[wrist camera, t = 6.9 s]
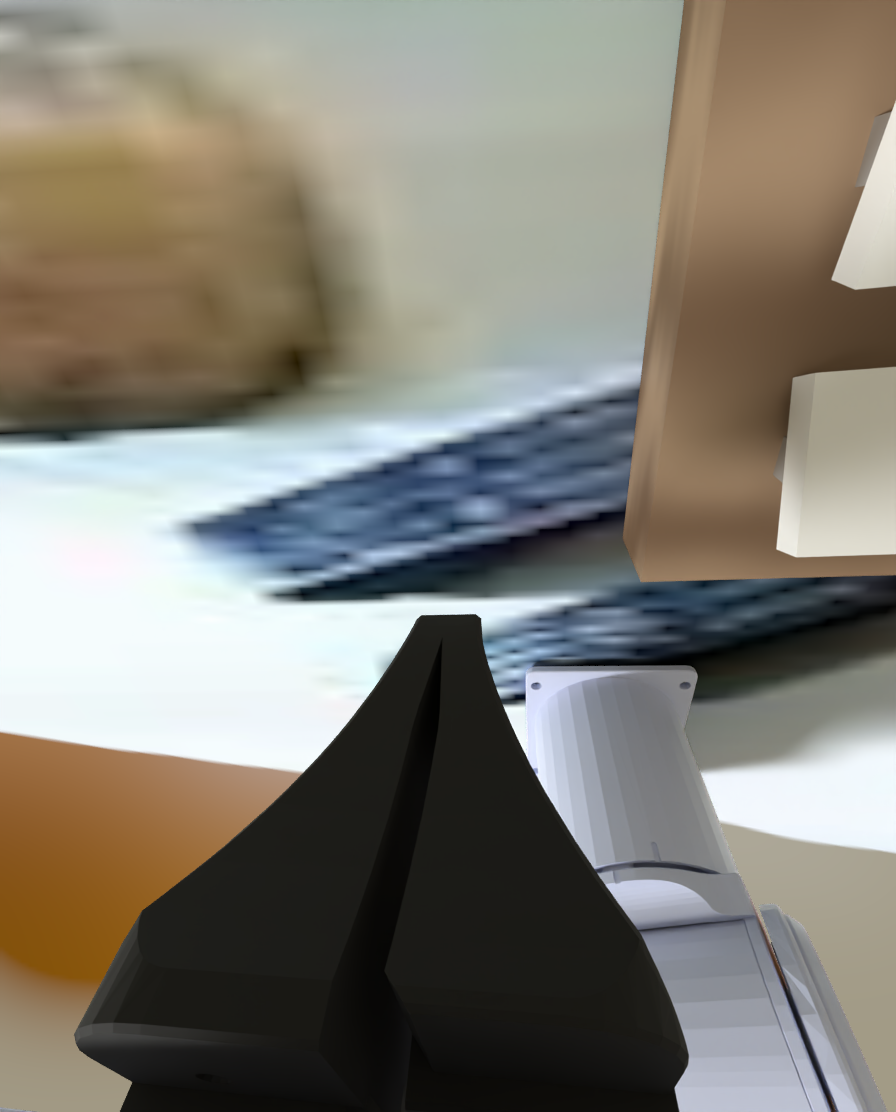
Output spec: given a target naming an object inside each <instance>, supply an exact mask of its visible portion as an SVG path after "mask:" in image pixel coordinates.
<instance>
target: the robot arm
mask: <svg viewBox="0 0 896 1112" xmlns="http://www.w3.org/2000/svg"><path fill="white" fill-rule="evenodd" d="M697 678H698V675H697V673H696V670H695V669H694V668H693V667H691V666H687V665H676V666H536V667H531V668H529V669H528V670H527V671H526V737H527V757H526V755H525V753H524V751H523V749H522V747H521V745H520V743H519V741H518V739H517V737H516V734H515V732H514V730H513V728H512V726H511V723H510V721H509V719H508V716H507V714H506V712H505V709H504V707H503V705H502V702H501V699H500V697H499V694H498V692H497V689H496V686H495V683H494V680H493V677H492V674H491V671H490V668H489V665H488V662H487V658H486V654H485V650H484V646H483V639H482V626H481V618H480V617H478V616H477V615H476V614H465V615H421V616H420V617H419V618H418V619H417V620H416V622H415V624H414V626H413V628H412V629H411V631H410V633H409V635H408V637H407V638H406V640H405V642H404V643H403V645H402V647H401V648H400V650H399V651H398V653H397V655H396V656H395V658H394V660H393V661H392V663H391V664H390V666H389V667H388V668H387V670H386V671H385V673H384V674H383V676H382V677H381V679H380V680H379V682H378V683H377V685H376V686H375V688H374V689H373V690H372V692H371V693H370V694H369V696H368V697H367V698H366V700H365V701H364V702H363V704H362V705H361V706H360V708H359V709H358V710H357V712H356V713H355V714H354V716H353V717H352V718H351V719H350V721H349V722H348V723H347V724H346V726H345V727H344V728H343V729H342V730H341V732H340V733H339V734H338V735H337V736H336V738H335V739H334V740H333V741H332V742H331V743H330V745H329V746H328V747H327V748H326V749H325V750H324V751H323V752H322V753H321V755H320V756H319V757H318V758H317V759H316V760H315V761H314V762H313V763H312V764H311V765H310V766H309V767H308V768H307V769H306V770H305V771H304V773H303V774H302V775H301V776H300V777H299V778H298V779H297V780H296V781H295V782H294V783H293V784H292V785H291V786H290V787H289V788H288V789H287V790H286V791H285V792H284V793H283V794H282V795H281V796H280V797H279V798H278V799H277V800H275V801H274V803H272V804H271V805H270V806H269V807H268V808H267V809H266V810H265V811H264V812H262V813H261V814H260V815H259V816H258V817H257V818H256V819H254V820H253V821H252V822H251V823H250V824H249V825H248V826H247V827H245V828H244V829H243V830H242V831H241V832H240V833H239V834H238V835H236V836H235V837H234V838H233V839H232V840H231V841H230V842H229V843H227V844H226V845H225V846H224V847H223V848H222V849H220V850H219V851H218V852H217V853H216V854H214V855H213V856H212V857H211V858H209V859H208V860H207V861H206V862H204V863H203V864H202V865H201V866H199V867H198V868H197V869H196V870H195V871H193V872H192V873H190V874H189V875H188V876H187V877H185V878H184V879H183V880H181V881H180V882H179V883H178V884H176V885H175V886H174V887H173V888H171V889H170V890H169V891H168V892H166V893H165V894H164V895H162V896H161V897H160V898H159V899H157V900H156V901H154V902H153V903H152V904H151V905H149V906H148V907H146V908H145V909H144V910H142V912H141V914H140V915H139V917H138V919H137V920H136V922H135V924H134V925H133V927H132V928H131V930H130V932H129V933H128V935H127V936H126V938H125V939H124V941H123V943H122V945H121V947H120V948H119V951H118V952H117V954H116V956H115V958H114V960H113V962H112V964H111V966H110V967H109V969H108V971H107V973H106V975H105V977H104V979H103V981H102V982H101V984H100V987H99V988H98V990H97V992H96V994H95V996H94V998H93V1000H92V1001H91V1004H90V1005H89V1007H88V1009H87V1011H86V1013H85V1015H84V1017H83V1018H82V1020H81V1022H80V1024H79V1026H78V1028H77V1030H76V1032H75V1034H74V1036H75V1041H76V1044H77V1046H78V1048H79V1050H80V1051H81V1052H83V1053H84V1054H86V1055H87V1056H88V1057H90V1058H91V1059H93V1060H95V1061H97V1062H98V1063H100V1064H102V1065H104V1066H106V1067H107V1068H109V1069H111V1070H113V1071H114V1072H116V1073H118V1074H120V1075H121V1076H123V1077H125V1078H126V1079H128V1080H130V1081H132V1085H131V1087H130V1089H129V1091H128V1094H127V1096H126V1098H125V1101H124V1103H123V1105H122V1108H121V1110H120V1112H887V1109H886V1107H885V1104H884V1102H883V1100H882V1097H881V1095H880V1093H879V1090H878V1088H877V1086H876V1084H875V1081H874V1079H873V1077H872V1074H871V1072H870V1070H869V1068H868V1065H867V1063H866V1061H865V1058H864V1056H863V1054H862V1052H861V1050H860V1047H859V1045H858V1043H857V1040H856V1038H855V1036H854V1034H853V1031H852V1029H851V1027H850V1025H849V1022H848V1020H847V1018H846V1016H845V1013H844V1011H843V1009H842V1007H841V1005H840V1002H839V1000H838V998H837V996H836V994H835V991H834V989H833V987H832V985H831V983H830V980H829V978H828V976H827V974H826V972H825V970H824V967H823V965H822V963H821V961H820V959H819V957H818V955H817V952H816V950H815V948H814V946H813V944H812V942H811V940H810V938H809V936H808V934H807V932H806V930H805V928H804V926H803V925H802V924H801V923H799V922H798V921H797V920H795V919H794V918H792V917H791V916H789V915H788V914H783V911H782V910H781V908H780V907H779V906H778V905H776V904H763V905H759V908H760V911H761V914H762V917H763V919H764V922H765V925H766V927H767V930H768V933H769V935H770V938H771V941H772V942H771V944H772V947H773V950H774V952H773V950H772V947H771V944H770V942H769V939H768V937H767V935H766V932H765V929H764V927H763V924H762V922H761V920H760V918H759V916H758V913H757V911H756V909H755V907H754V905H753V902H752V900H751V898H750V896H749V893H748V891H747V889H746V887H745V884H744V882H743V880H742V878H741V876H740V875H739V873H738V870H737V867H736V864H735V862H734V859H733V856H732V854H731V851H730V849H729V846H728V843H727V841H726V838H725V836H724V833H723V830H722V828H721V825H720V822H719V820H718V817H717V815H716V812H715V809H714V807H713V804H712V802H711V799H710V796H709V794H708V791H707V789H706V786H705V783H704V781H703V778H702V776H701V773H700V770H699V768H698V765H697V762H696V760H695V757H694V755H693V752H692V749H691V747H690V744H689V742H688V739H687V736H686V734H685V731H684V729H685V725H686V721H687V717H688V713H689V709H690V705H691V701H692V698H693V694H694V690H695V686H696V682H697ZM535 682H537V684H534V683H535ZM683 682H685V683H683ZM774 953H775V955H774ZM775 956H776V957H775ZM776 959H777V960H776ZM777 961H778V962H777ZM778 964H779V965H778ZM779 967H780V968H779ZM780 969H781V970H780ZM781 972H782V973H781ZM783 977H784V978H783ZM833 1104H834V1105H833ZM835 1109H836V1110H835ZM0 1112H35V1111H26V1110H17V1109H9V1108H1V1107H0Z"/></svg>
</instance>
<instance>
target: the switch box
mask: <svg viewBox="0 0 896 1112" xmlns="http://www.w3.org/2000/svg"><path fill="white" fill-rule="evenodd" d="M895 101H896V0H684V7H683V16H682V25H681V34H680V42H679V51H678V60H677V69H676V77H675V86H674V95H673V104H672V112H671V121H670V130H669V138H668V147H667V156H666V165H665V173H664V182H663V191H662V200H661V208H660V217H659V226H658V235H657V243H656V252H655V261H654V270H653V278H652V287H651V296H650V305H649V313H648V322H647V331H646V340H645V348H644V357H643V366H642V375H641V383H640V392H639V401H638V410H637V418H636V427H635V436H634V445H633V453H632V462H631V471H630V480H629V488H628V497H627V506H626V515H625V523H624V532H623V540H624V543H625V545H626V547H627V550H628V552H629V554H630V557H631V559H632V562H633V564H634V566H635V569H636V571H637V573H638V576H639V578H640V580H641V582H654V581H691V580H727V579H764V578H800V577H837V576H873V575H896V554H886V555H855V556H824V557H794V556H792V555H789V554H787V553H784V552H782V551H779V550H777V549H776V548H777V538H778V527H779V517H780V506H781V496H782V485H783V475H784V464H785V454H786V444H787V433H788V423H789V412H790V402H791V391H792V381H793V378H794V377H798V376H803V375H808V374H813V373H821V372H834V371H847V370H861V369H874V368H887V367H896V286H889V287H878V288H868V289H857V290H855V289H852V288H850V287H847V286H845V285H843V284H840V283H838V282H836V281H833V280H831V279H832V276H833V274H834V271H835V268H836V265H837V262H838V260H839V257H840V254H841V251H842V249H843V246H844V243H845V240H846V237H847V235H848V232H849V229H850V226H851V224H852V221H853V218H854V215H855V213H856V210H857V207H858V204H859V201H860V199H861V196H862V193H863V190H864V188H865V185H866V182H867V179H868V176H869V174H870V171H871V168H872V165H873V163H874V160H875V157H876V154H877V151H878V149H879V146H880V143H881V140H882V138H883V135H884V132H885V129H886V126H887V124H888V121H889V118H890V115H891V113H892V110H893V107H894V104H895Z"/></svg>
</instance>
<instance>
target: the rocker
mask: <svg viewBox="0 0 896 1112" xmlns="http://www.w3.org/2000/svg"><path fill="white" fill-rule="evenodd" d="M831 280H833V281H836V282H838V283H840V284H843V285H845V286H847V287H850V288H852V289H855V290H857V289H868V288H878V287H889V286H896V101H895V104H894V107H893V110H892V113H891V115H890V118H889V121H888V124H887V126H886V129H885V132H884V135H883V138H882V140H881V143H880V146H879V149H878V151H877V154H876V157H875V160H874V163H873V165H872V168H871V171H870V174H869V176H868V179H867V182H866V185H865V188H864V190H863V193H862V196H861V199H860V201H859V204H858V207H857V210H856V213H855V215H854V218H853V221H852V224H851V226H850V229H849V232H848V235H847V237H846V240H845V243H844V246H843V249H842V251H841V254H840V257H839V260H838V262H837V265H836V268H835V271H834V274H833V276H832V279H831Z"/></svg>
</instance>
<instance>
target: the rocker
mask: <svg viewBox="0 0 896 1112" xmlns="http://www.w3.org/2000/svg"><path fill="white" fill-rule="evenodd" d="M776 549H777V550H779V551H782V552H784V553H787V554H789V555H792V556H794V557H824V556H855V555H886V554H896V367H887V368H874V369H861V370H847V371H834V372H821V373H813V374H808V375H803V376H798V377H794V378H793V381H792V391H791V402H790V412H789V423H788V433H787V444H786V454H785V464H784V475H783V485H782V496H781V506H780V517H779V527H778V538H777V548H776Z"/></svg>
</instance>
